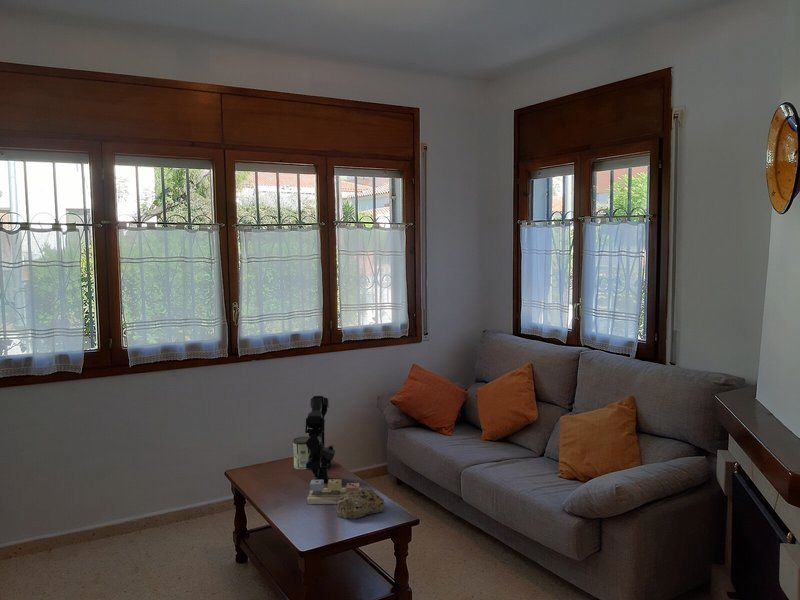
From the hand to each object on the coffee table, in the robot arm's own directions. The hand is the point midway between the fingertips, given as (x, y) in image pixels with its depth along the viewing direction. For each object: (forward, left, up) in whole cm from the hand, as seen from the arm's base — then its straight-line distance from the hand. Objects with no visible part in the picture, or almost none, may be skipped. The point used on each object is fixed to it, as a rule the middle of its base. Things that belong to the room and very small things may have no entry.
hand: (316, 477), depth 290 cm
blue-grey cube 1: (0, 0, -8) cm, 8 cm away
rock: (+16, +21, -10) cm, 28 cm away
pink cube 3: (0, +16, -10) cm, 19 cm away
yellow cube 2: (0, +8, -8) cm, 11 cm away
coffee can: (-43, -13, -10) cm, 46 cm away
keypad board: (0, +8, -10) cm, 13 cm away
